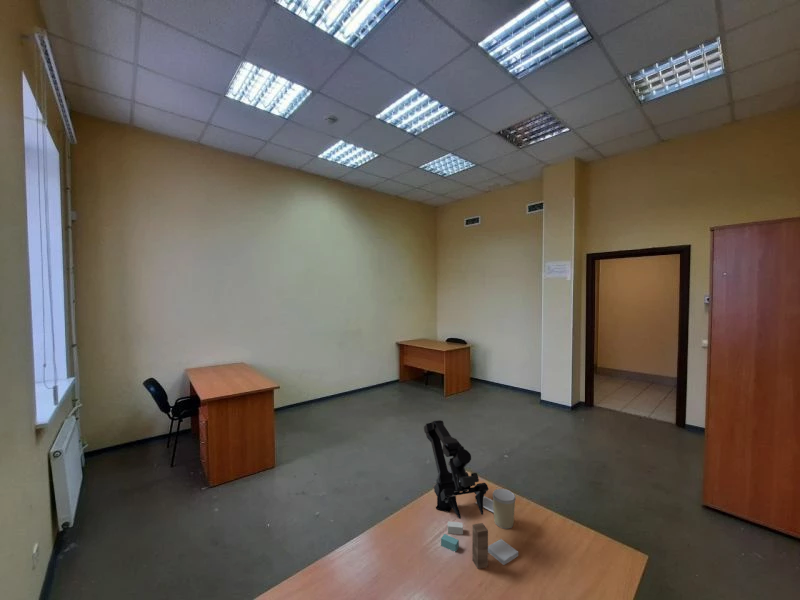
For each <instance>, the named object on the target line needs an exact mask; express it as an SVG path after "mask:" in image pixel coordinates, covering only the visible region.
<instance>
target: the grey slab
mask: <svg viewBox="0 0 800 600" xmlns="http://www.w3.org/2000/svg"><path fill="white" fill-rule="evenodd" d="M488 554H490V555H491V556H492V557H493V558H494V559H495V560H497V561H498V562H499V563H500V564H502V565H503V566H505V565H507V564H508V563H510V562H511V561H513V560H514V559H516V558H517V557H519V551H518V550H517V549H516V548H514V547H512V545H510V544H509V543H507V542H506V541H504V540H503V539H502V538H500V539H499V540H497V541H495V542H493V543H491V544H488Z"/></svg>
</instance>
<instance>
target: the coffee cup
mask: <svg viewBox="0 0 800 600" xmlns="http://www.w3.org/2000/svg"><path fill="white" fill-rule="evenodd" d="M492 500H493V508H494V513H493V520H494V523H495V525H496V526H497V527H499V528H501V529H504V530H505V529H506V530H507V529H512V528H513V527H514V521H515V520H514V519H515V507H516V496H515V494H514V493H513V492H512V491H511V490H509V489H506V488H497V489H494V490H493V492H492Z"/></svg>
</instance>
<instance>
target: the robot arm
mask: <svg viewBox="0 0 800 600" xmlns="http://www.w3.org/2000/svg"><path fill="white" fill-rule="evenodd" d="M423 431H424V434H425V435H426V439H428V441H429V442H430V443H431V448H432V452H433V456H434V460H435V466H436V470H437V476H436V477H437V478H436V481H435V482H436V483H435V485H434V486H433V490H434V491H433V492H434V494H435V496H436V507H435V509H436V510H439V511H442V512H446V513H451V511H452V510H453V511H454V513H455V515H456V516H457V517H458V519H462V516H461V515H462V514H461V512H460V509H459V505H458V502H457V496H460V495H467V494H473V493H474V494H475V496H474V498H475V502H477V504H476V505H477V507H478V510H479V512H480V515H481V516H483V515H484V507H483V497H484V496H485V495H486V494H487V492H488V491H489V486H488V483H486V482H480V483H478V482H479V481H480V479H479V475H478V473H477V472H471V473H470V475H469V473H468V472H467V471H466V470H467V469H466V467H467V466H468V465H469V464H470V462H471V460H472V455H471V453H470V452H469V451H468V450H467V449H465V447H464V446H463V445H462V444H461V443H460V442H459V440H458V439H457V438H456V437H455V438H454V437H453V436H452V435H451V434H450V433H449V431H448V429H447V428H446V426H445V424H444V421H443V420H442V419H440V420H439V419H438V420H433V421H431V422H427V423H425V425H424V426H423ZM445 457H447V458H449V460H448V461H449V462H448V466H449V468H450V471H451V472H450V471H449V470H448V466H447V462H446V458H445ZM450 457H451V458H450ZM476 483H477V484H476Z"/></svg>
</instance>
